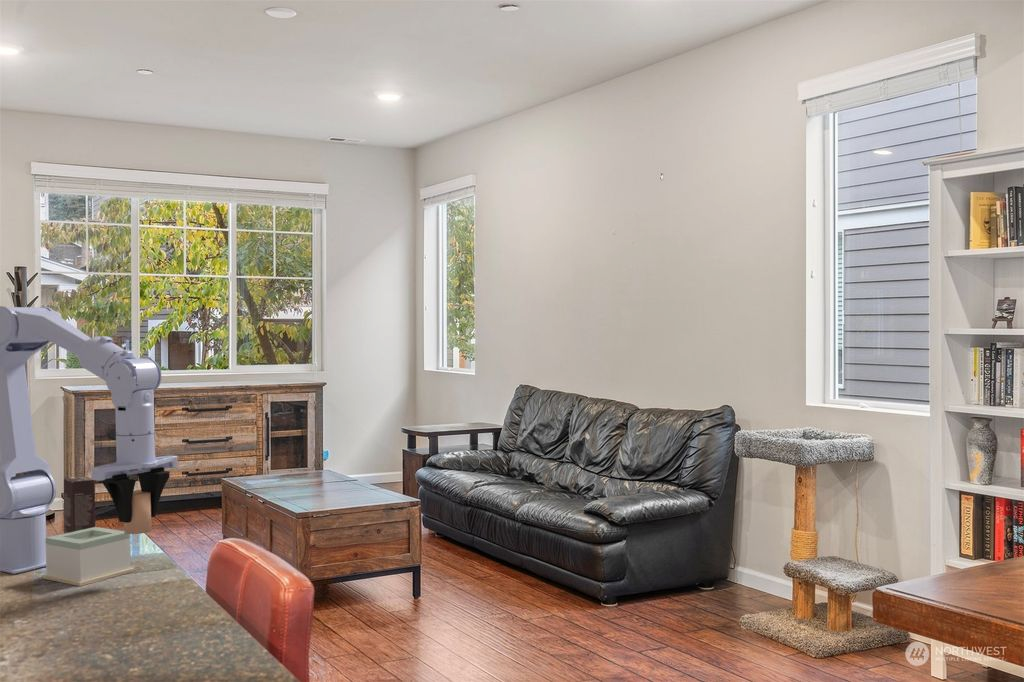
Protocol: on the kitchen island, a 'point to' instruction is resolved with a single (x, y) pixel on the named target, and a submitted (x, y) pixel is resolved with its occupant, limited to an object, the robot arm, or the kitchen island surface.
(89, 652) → the kitchen island surface
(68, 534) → the socket
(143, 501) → the peg
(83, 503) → the box
